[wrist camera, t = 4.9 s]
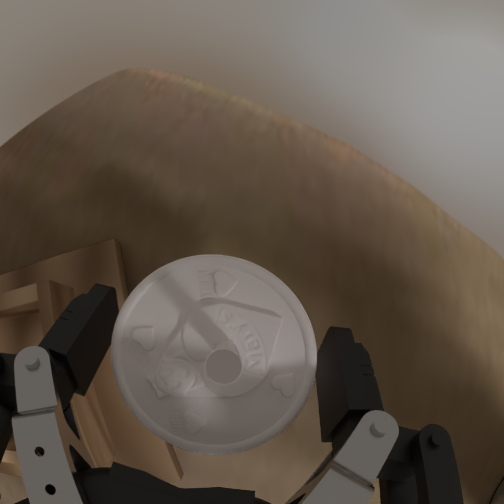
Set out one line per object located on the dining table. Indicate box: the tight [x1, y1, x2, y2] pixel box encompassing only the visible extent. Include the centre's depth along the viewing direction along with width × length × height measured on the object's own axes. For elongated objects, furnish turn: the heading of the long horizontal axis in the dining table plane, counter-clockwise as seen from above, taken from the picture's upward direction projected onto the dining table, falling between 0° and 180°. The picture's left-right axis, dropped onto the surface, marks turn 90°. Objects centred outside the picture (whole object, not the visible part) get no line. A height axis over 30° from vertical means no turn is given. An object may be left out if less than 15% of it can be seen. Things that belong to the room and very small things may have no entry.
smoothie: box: [111, 254, 317, 455], centre depth 11 cm, size 6×6×14 cm
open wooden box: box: [0, 238, 183, 482], centre depth 13 cm, size 18×16×4 cm
